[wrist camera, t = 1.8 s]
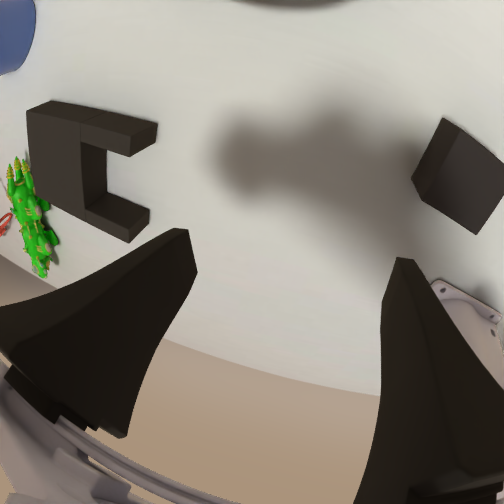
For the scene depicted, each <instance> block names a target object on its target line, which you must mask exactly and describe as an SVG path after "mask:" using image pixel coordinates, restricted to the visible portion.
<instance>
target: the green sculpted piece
mask: <svg viewBox="0 0 504 504" xmlns="http://www.w3.org/2000/svg"><path fill="white" fill-rule="evenodd" d="M22 161H23V163H22V165H21V163H20V160H19V159H18V158H17V156H16V158H15V162H14V166H15V167H14V169H15V170H16V181H15V182H14V178H13V177H14V174H13V173H14V172H13V169H12V167H11V165H10V164H9V167H8V170H7V172H8V173H7V178H8V184H7V193H8V195H7V197H8V199H9V197H10V199H9V200H10V201H12V202H11V203H13V206H14V209H12V208H11V207H10V208H11V209H10V210H11V213H13V214H15V215H16V216H15V219H17V220H18V221H19V223H20V226H22V227H21V230H19V232H21V233H22V236H23V239H24V242H25V249H24V248H23V250H24V252H27V253H29V255H30V257H31V260H32V270H33V272H34V273H36V274H38V275H39V276H40V277H41V278H47V270H49V265H50V260H51V261H52V262H53V260H52V258H51V257H50V256H48V255H51V254H52V249H51V247H50V245H49V243H48V241H49V242H50V243H51V244H52V245H53V246H56V245H57V244H58V240H57V238H56V236H55V234H54V233H53V231H52V230H50V231H44V230H43V228H44V227H45V226H44V225H42V224H41V221H39V220H40V219H41V217H42V212H41V209H40V207H41V208H42V210H44V211H48V210H49V207H50V206H49V202H47V201H45V200H43V199H41V198H39V197H38V196H36V194H35V189H34V183H33V177H32V175H31V173H30V171H29V170H30V168H28V167H29V166H28V165H27V163H26V161H24V159H23V160H22ZM21 167H23V168H22V170H23V172H22V170H21ZM23 174H24V175H23ZM24 177H25V178H24ZM11 198H12V200H11ZM36 198H37V200H38V202H37V201H36ZM39 205H40V207H39ZM45 234H46V235H45ZM46 269H47V270H46Z"/></svg>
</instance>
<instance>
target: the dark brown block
mask: <svg viewBox="0 0 504 504" xmlns="http://www.w3.org/2000/svg"><path fill="white" fill-rule="evenodd" d="M411 180H412V182H413V184H414V186H415V188H416V190H417V192H418V194H419V196H420V198H421V200H422V201H423V202H425V203H427V204H428V205H430V206H432V207H433V208H435V209H437V210H438V211H440V212H441V213H443V214H445V215H446V216H448V217H449V218H451V219H452V220H454V221H455V222H457V223H458V224H460V225H461V226H463V227H464V228H466V229H467V230H469V231H470V232H472V233H473V234H475V235H477V234H478V232H479V231H480V230H481V228H482V227H483V226H484V224H485V223H486V221H487V220H488V218H489V217H490V215H491V214H492V212H493V211H494V209H495V208H496V206H497V205H498V203H499V202H500V200H501V199H502V197H503V195H504V164H503V163H502V162H501V161H500V160H499V159H498V158H497V157H496V156H494V155H493V154H492V153H491V152H490V151H489V150H487V149H486V148H485V147H484V146H483V145H481V144H480V143H479V142H478V141H476V140H475V139H474V138H472V137H471V136H470V135H469V134H467V133H466V132H465V131H463V130H462V129H460V128H459V127H457V126H456V125H454V124H453V123H451V122H449V121H448V120H446V119H445V118H442V120H441V122H440V124H439V126H438V128H437V130H436V132H435V134H434V136H433V138H432V140H431V142H430V144H429V146H428V148H427V150H426V152H425V153H424V155H423V157H422V159H421V161H420V163H419V164H418V166H417V168H416V170H415V172H414V173H413V175H412V177H411Z"/></svg>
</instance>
